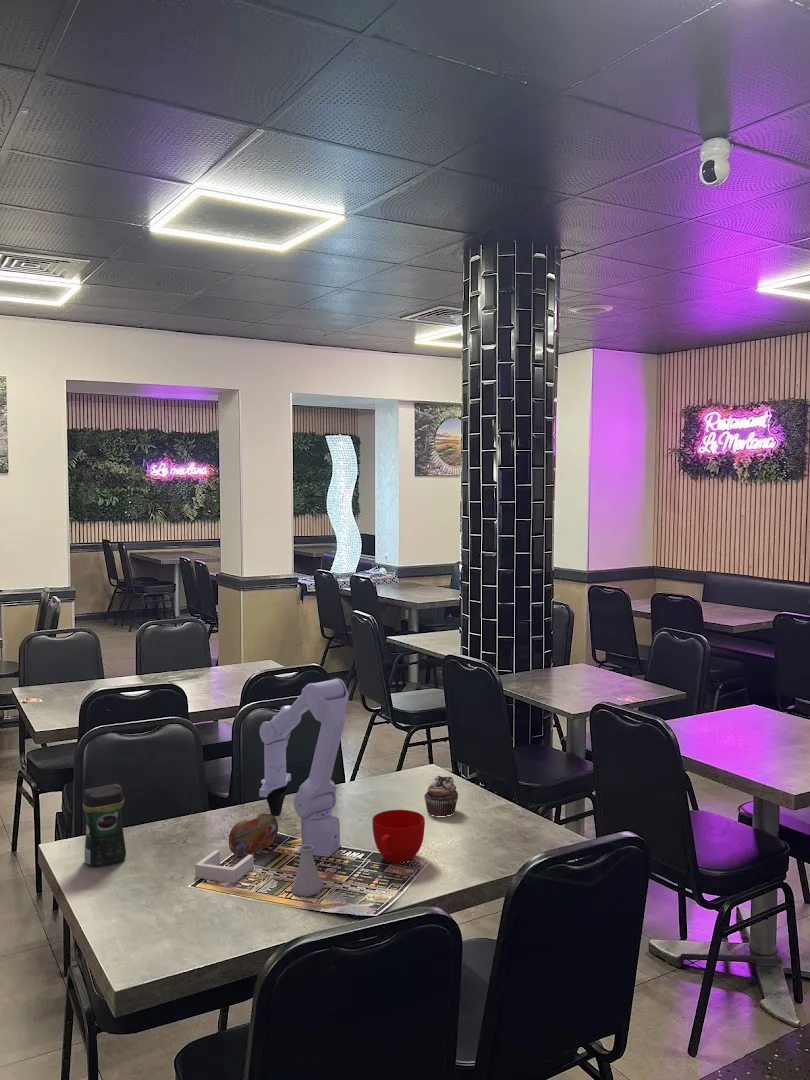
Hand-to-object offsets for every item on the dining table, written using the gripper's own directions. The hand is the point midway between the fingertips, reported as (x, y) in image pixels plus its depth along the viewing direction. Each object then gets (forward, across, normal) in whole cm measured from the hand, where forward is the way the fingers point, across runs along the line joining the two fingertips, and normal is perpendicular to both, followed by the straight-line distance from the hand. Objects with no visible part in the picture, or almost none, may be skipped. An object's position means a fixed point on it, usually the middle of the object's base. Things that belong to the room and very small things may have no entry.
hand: (275, 815), depth 230 cm
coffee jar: (+5, +30, -32) cm, 44 cm away
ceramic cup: (+5, +9, +37) cm, 38 cm away
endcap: (+4, +26, 0) cm, 26 cm away
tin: (+5, +13, 0) cm, 14 cm away
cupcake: (+5, -27, +38) cm, 47 cm away
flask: (+5, +30, +23) cm, 38 cm away
